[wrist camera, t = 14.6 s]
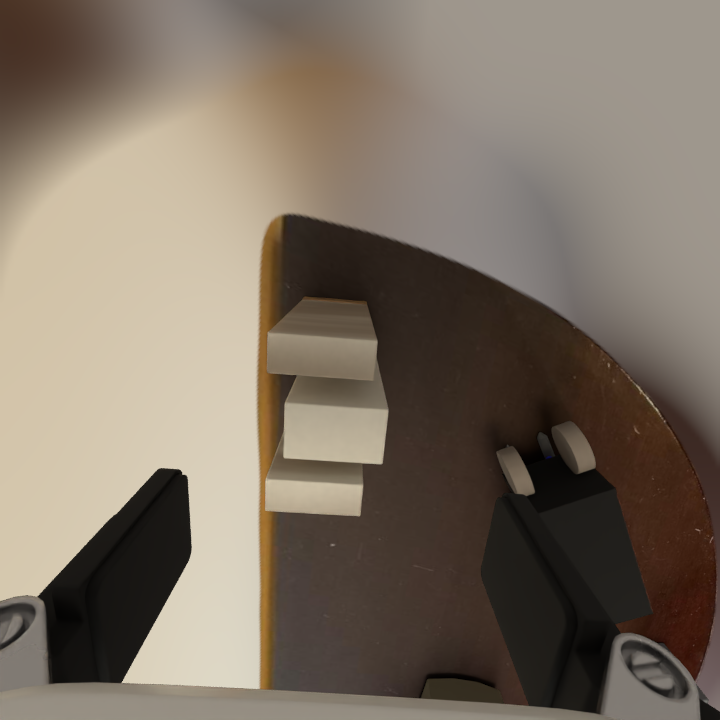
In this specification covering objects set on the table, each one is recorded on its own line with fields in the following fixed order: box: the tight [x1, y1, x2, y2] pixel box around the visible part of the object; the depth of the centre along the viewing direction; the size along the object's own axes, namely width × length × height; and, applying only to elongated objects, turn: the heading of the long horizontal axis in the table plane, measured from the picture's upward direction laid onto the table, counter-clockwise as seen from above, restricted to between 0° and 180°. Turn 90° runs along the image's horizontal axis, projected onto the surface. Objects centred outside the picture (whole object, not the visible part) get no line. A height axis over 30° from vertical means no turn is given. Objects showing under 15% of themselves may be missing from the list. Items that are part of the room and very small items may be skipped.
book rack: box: [265, 297, 378, 516], centre depth 22 cm, size 9×5×12 cm, turn 175°
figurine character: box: [497, 421, 653, 624], centre depth 29 cm, size 7×8×15 cm
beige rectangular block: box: [283, 358, 389, 464], centre depth 22 cm, size 3×5×11 cm, turn 85°
